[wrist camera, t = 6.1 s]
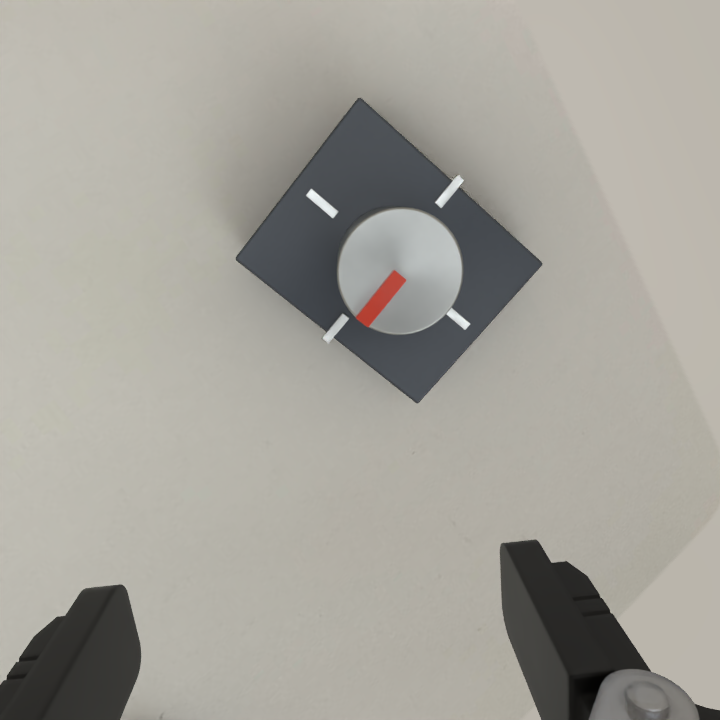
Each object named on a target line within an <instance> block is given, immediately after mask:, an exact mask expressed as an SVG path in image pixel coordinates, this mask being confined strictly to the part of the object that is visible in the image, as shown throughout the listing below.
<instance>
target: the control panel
mask: <svg viewBox="0 0 720 720" xmlns="http://www.w3.org/2000/svg"><path fill="white" fill-rule="evenodd" d="M463 182H464V179H463V178H462V177H460V176H459V175H457V176H456V177H455V178H454V179H453V180H451V179H450V178H448V177H447V176H446V175H445V174H444V173H443V172H442V171H441V170H440V169H439V168H437V167H436V166H435V165H434V164H433V163H432V162H431V161H430V160H429V159H428V158H426V157H425V156H424V155H423V154H422V153H421V152H420V151H419V150H418V149H416V148H415V147H414V146H413V145H412V144H411V143H410V142H409V141H408V140H407V139H405V138H404V137H403V136H402V135H401V134H400V133H399V132H398V131H397V130H396V129H394V128H393V127H392V126H391V125H390V124H389V123H388V122H387V121H386V120H385V119H383V118H382V117H381V116H380V115H379V114H378V113H377V112H376V111H375V110H374V109H372V108H371V107H370V106H369V105H368V104H367V103H366V102H365V101H364V100H363V99H361V98H358V99H357V100H356V101H355V103H354V104H353V105H352V107H351V108H350V109H349V111H348V112H347V113H346V114H345V116H344V117H343V118H342V120H341V121H340V122H339V124H338V125H337V126H336V127H335V129H334V130H333V131H332V133H331V134H330V135H329V137H328V138H327V139H326V140H325V142H324V143H323V144H322V146H321V147H320V148H319V150H318V151H317V152H316V154H315V155H314V156H313V157H312V159H311V160H310V161H309V163H308V164H307V165H306V167H305V168H304V169H303V170H302V172H301V173H300V174H299V176H298V177H297V178H296V180H295V181H294V182H293V183H292V185H291V186H290V187H289V189H288V190H287V191H286V193H285V194H284V195H283V197H282V198H281V199H280V200H279V202H278V203H277V204H276V206H275V207H274V208H273V210H272V211H271V212H270V213H269V215H268V216H267V217H266V219H265V220H264V221H263V223H262V224H261V225H260V226H259V228H258V229H257V230H256V232H255V233H254V234H253V236H252V237H251V238H250V240H249V241H248V242H247V243H246V245H245V246H244V247H243V249H242V250H241V251H240V253H239V254H238V255H237V256H236V260H237V261H238V262H239V263H240V264H242V265H243V266H244V267H245V268H247V269H248V270H249V271H250V272H252V273H253V274H254V275H255V276H257V277H258V278H259V279H261V280H262V281H263V282H264V283H266V284H267V285H268V286H269V287H271V288H272V289H273V290H274V291H276V292H277V293H278V294H279V295H281V296H282V297H283V298H284V299H286V300H287V301H288V302H290V303H291V304H292V305H293V306H295V307H296V308H297V309H298V310H300V311H301V312H302V313H303V314H305V315H306V316H307V317H308V318H310V319H311V320H312V321H313V322H315V323H316V324H317V325H319V326H320V327H321V328H322V329H324V330H325V331H326V333H325V335H324V336H323V337H322V339H323V340H325V341H326V342H327V343H329V342H330V341H331V340H332V339H333V338H335V339H336V340H337V341H339V342H340V343H341V344H342V345H344V346H345V347H346V348H348V349H349V350H350V351H351V352H353V353H354V354H355V355H356V356H358V357H359V358H360V359H361V360H363V361H364V362H365V363H366V364H368V365H369V366H370V367H371V368H373V369H374V370H375V371H377V372H378V373H379V374H380V375H382V376H383V377H384V378H385V379H387V380H388V381H389V382H390V383H392V384H393V385H394V386H395V387H397V388H398V389H399V390H400V391H402V392H403V393H404V394H406V395H407V396H408V397H409V398H411V399H412V400H413V401H414V402H416V403H419V402H420V401H421V400H422V398H423V397H424V396H425V395H426V394H427V393H428V392H429V391H430V390H431V388H432V387H433V386H434V385H435V384H436V383H437V382H438V381H439V379H440V378H441V377H442V376H443V375H444V374H445V373H446V372H447V371H448V369H449V368H450V367H451V366H452V365H453V364H454V363H455V362H456V360H457V359H458V358H459V357H460V356H461V355H462V354H463V353H464V352H465V350H466V349H467V348H468V347H469V346H470V345H471V344H472V343H473V341H474V340H475V339H476V338H477V337H478V336H479V335H480V334H481V333H482V331H483V330H484V329H485V328H486V327H487V326H488V325H489V324H490V323H491V321H492V320H493V319H494V318H495V317H496V316H497V315H498V314H499V312H500V311H501V310H502V309H503V308H504V307H505V306H506V305H507V304H508V302H509V301H510V300H511V299H512V298H513V297H514V296H515V295H516V293H517V292H518V291H519V290H520V289H521V288H522V287H523V286H524V285H525V283H526V282H527V281H528V280H529V279H530V278H531V277H532V276H533V275H534V273H535V272H536V271H537V270H538V269H539V268H540V267H541V266H542V262H541V261H540V260H539V259H538V258H536V257H535V256H534V255H533V254H532V253H531V252H530V251H529V250H528V249H527V248H525V247H524V246H523V245H522V244H521V243H520V242H519V241H518V240H517V239H516V238H514V237H513V236H512V235H511V234H510V233H509V232H508V231H507V230H506V229H505V228H503V227H502V226H501V225H500V224H499V223H498V222H497V221H496V220H495V219H494V218H492V217H491V216H490V215H489V214H488V213H487V212H486V211H485V210H484V209H483V208H481V207H480V206H479V205H478V204H477V203H476V202H475V201H474V200H473V199H472V198H470V197H469V196H468V195H467V194H466V193H465V192H464V191H463V190H462V189H461V188H459V187H460V185H461V184H462V183H463ZM389 206H396V207H409V208H415V209H419V210H422V211H425V212H427V213H429V214H431V215H433V216H435V217H436V218H438V219H439V220H440V221H442V222H443V223H444V224H445V225H446V226H447V227H448V228H449V230H450V231H451V232H452V234H453V235H454V237H455V238H456V240H457V242H458V245H459V247H460V250H461V253H462V257H463V265H464V274H463V282H462V286H461V290H460V292H459V295H458V297H457V299H456V301H455V303H454V304H453V306H452V307H451V309H450V310H449V311H448V313H447V314H446V315H445V316H444V317H443V318H442V319H440V320H439V321H438V322H437V323H435V324H434V325H432V326H430V327H429V328H426V329H424V330H422V331H419V332H416V333H412V334H406V335H392V334H386V333H382V332H379V331H376V330H373V329H371V328H369V327H366V326H365V325H364V324H362V323H361V322H360V321H359V320H357V319H356V317H355V316H354V315H353V314H352V313H351V312H350V311H349V309H348V308H347V306H346V305H345V303H344V301H343V299H342V297H341V294H340V291H339V287H338V282H337V258H338V250H339V246H340V243H341V240H342V238H343V236H344V234H345V233H346V231H347V230H348V228H349V227H350V226H351V225H352V223H353V222H354V221H356V220H357V219H358V218H359V217H360V216H362V215H364V214H365V213H367V212H369V211H371V210H374V209H377V208H381V207H389Z"/></svg>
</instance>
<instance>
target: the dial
mask: <svg viewBox="0 0 720 720" xmlns="http://www.w3.org/2000/svg"><path fill="white" fill-rule="evenodd" d="M463 274H464V265H463V257H462V253H461V250H460V247H459V245H458V242H457V240H456V238H455V237H454V235H453V234H452V232H451V231H450V230H449V228H448V227H447V226H446V225H445V224H444V223H443V222H442V221H440V220H439V219H438V218H436V217H435V216H433V215H431V214H429V213H427V212H425V211H422V210H419V209H415V208H409V207H396V206H389V207H381V208H377V209H374V210H371V211H369V212H367V213H365V214H364V215H362V216H360V217H359V218H358V219H357V220H356V221H354V222H353V223H352V225H351V226H350V227H349V228H348V230H347V231H346V233H345V234H344V236H343V238H342V240H341V243H340V246H339V250H338V258H337V282H338V287H339V291H340V294H341V297H342V299H343V301H344V303H345V305H346V306H347V308H348V309H349V311H350V312H351V313H352V314H353V315H354V316H355V317H356V319H357V320H359V321H360V322H361V323H362V324H364V325H365V326H366V327H369V328H371V329H373V330H376V331H379V332H382V333H386V334H392V335H406V334H412V333H416V332H419V331H422V330H424V329H426V328H429V327H430V326H432V325H434V324H435V323H437V322H438V321H439V320H440V319H442V318H443V317H444V316H445V315H446V314H447V313H448V311H449V310H450V309H451V307H452V306H453V304H454V303H455V301H456V299H457V297H458V295H459V292H460V290H461V286H462V282H463Z"/></svg>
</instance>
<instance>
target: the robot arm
mask: <svg viewBox="0 0 720 720" xmlns="http://www.w3.org/2000/svg"><path fill="white" fill-rule="evenodd" d="M500 564H501V591H502V609H503V616H504V622H505V626H506V630H507V633H508V636H509V639H510V642H511V644H512V647H513V649H514V652H515V654H516V657H517V659H518V662H519V664H520V667H521V669H522V672H523V674H524V677H525V679H526V682H527V684H528V687H529V689H530V692H531V695H532V697H533V700H534V702H535V705H536V707H537V710H538V712H539V715H540V717H541V720H720V710H714V709H709V708H705V707H702V706H699V705H696V704H694V703H693V701H692V700H691V698H690V697H689V696H688V695H687V693H686V692H685V691H684V690H682V689H681V688H680V687H679V686H678V685H676V684H675V683H673V682H672V681H670V680H668V679H667V678H665V677H663V676H661V675H658V674H656V673H653V672H651V671H650V669H649V668H648V666H647V665H646V663H645V662H644V660H643V659H642V657H641V656H640V654H639V653H638V651H637V650H636V648H635V647H634V645H633V644H632V643H631V641H630V639H629V638H628V636H627V635H626V633H625V632H624V630H623V629H622V627H621V626H620V624H619V623H618V621H617V620H616V618H615V617H614V615H613V614H611V613H610V609H609V608H608V606H607V605H606V603H605V602H604V600H603V599H602V598H600V595H599V593H598V591H597V590H596V589H595V587H594V586H593V584H592V583H591V581H590V580H589V578H588V577H587V576H586V575H585V574H584V573H582V572H581V571H579V570H578V569H577V568H575V567H574V566H572V565H571V564H570V563H568V562H567V561H565V562H556V563H551V562H550V560H549V558H548V556H547V555H546V553H545V551H544V550H543V548H542V546H541V545H540V543H539V542H538V541H537V540H528V541H519V542H510V543H502V544H501V547H500ZM140 663H141V647H140V641H139V637H138V633H137V629H136V625H135V621H134V617H133V613H132V609H131V605H130V601H129V596H128V593H127V590H126V588H125V587H124V586H123V585H112V586H103V587H94V588H86V589H84V590H83V591H81V593H80V594H79V596H78V597H77V599H76V600H75V602H74V603H73V605H72V606H71V608H70V609H69V611H68V613H67V614H66V616H61V617H56V618H55V619H54V620H53V621H52V622H51V623H49V624H48V625H47V626H46V627H45V628H44V629H42V630H41V631H40V632H39V633H38V634H37V635H35V636H34V637H33V639H32V640H31V642H30V643H29V645H28V646H27V648H26V649H25V650H24V652H23V653H22V655H21V656H20V658H19V662H16V663H15V665H14V666H13V668H12V669H11V671H10V672H9V674H8V675H7V680H4V681H3V682H2V684H1V685H0V720H120V718H121V716H122V713H123V711H124V708H125V706H126V704H127V701H128V699H129V696H130V694H131V692H132V689H133V687H134V684H135V682H136V680H137V677H138V674H139V669H140Z"/></svg>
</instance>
